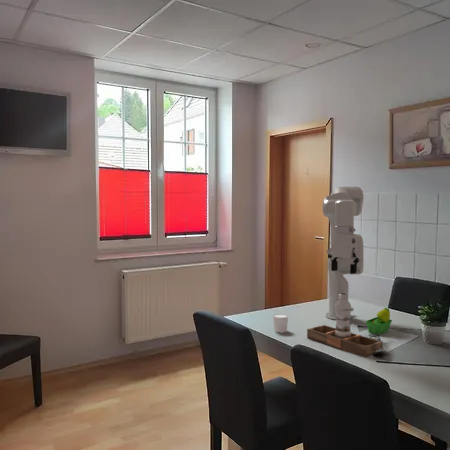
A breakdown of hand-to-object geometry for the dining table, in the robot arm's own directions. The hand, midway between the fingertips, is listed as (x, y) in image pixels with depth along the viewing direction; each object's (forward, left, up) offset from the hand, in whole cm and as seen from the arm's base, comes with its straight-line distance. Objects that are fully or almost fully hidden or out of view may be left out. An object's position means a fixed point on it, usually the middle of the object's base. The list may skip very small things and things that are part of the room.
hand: (343, 272), depth 188 cm
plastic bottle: (0, 0, -29) cm, 29 cm away
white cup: (+7, -30, -30) cm, 43 cm away
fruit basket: (-28, -2, -31) cm, 41 cm away
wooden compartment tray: (0, 0, -30) cm, 30 cm away
